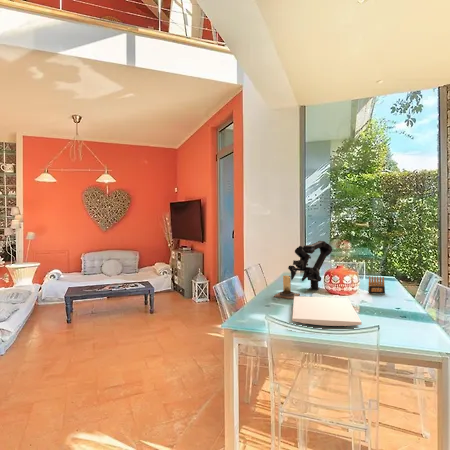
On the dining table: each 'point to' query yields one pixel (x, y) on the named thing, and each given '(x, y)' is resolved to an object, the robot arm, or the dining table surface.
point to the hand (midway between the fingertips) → (296, 280)
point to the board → (324, 311)
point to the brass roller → (286, 284)
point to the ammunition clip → (376, 285)
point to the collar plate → (286, 295)
